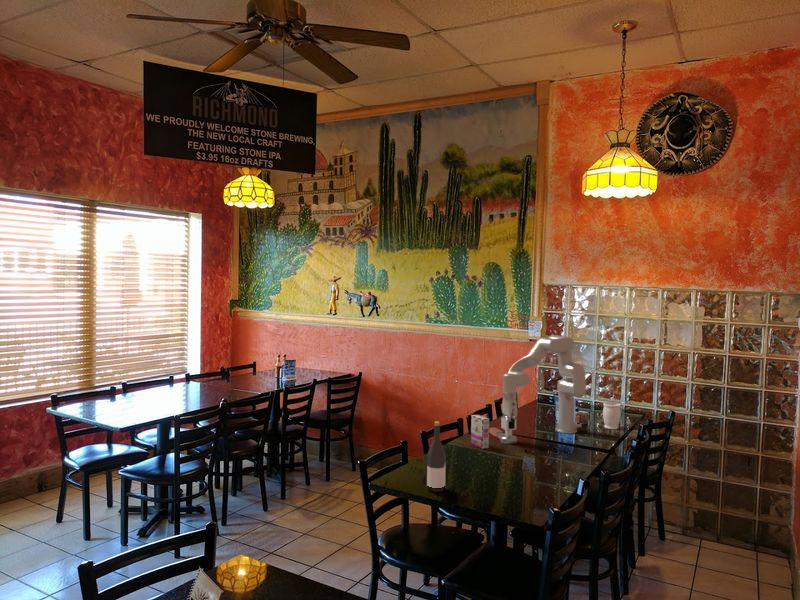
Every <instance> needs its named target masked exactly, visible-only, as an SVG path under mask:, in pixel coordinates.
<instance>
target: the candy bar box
mask: <svg viewBox="0 0 800 600" xmlns="http://www.w3.org/2000/svg"><path fill="white" fill-rule="evenodd" d="M470 416H471V417H470V422H471V423H470V445H471V446H474V447H476V446H477V447H476V448H478V447H479V449H480V448H481V450H486V449H490V433H489V428H490V419H491V418H489V417H486V416H483V415H480V414H471V415H470Z"/></svg>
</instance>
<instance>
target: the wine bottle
mask: <svg viewBox="0 0 800 600" xmlns="http://www.w3.org/2000/svg"><path fill="white" fill-rule="evenodd" d="M440 427H441V425H440V421H434V425H433V441H432V442H431V444H430V446H429V448H428V451H427V456H426V458H427V459H426V466H427V467H426V487H427V486H429V487H432V488H442V487H444V486H445V487H446V469H447V468H446V466H447V465H446V464H447V463H446V460H447V459H446V458H447V455H446V451H445V447H444V445H443V443H442V441H441V438H440V436H441V435H440V434H441V433H440V431H441V428H440Z"/></svg>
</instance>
